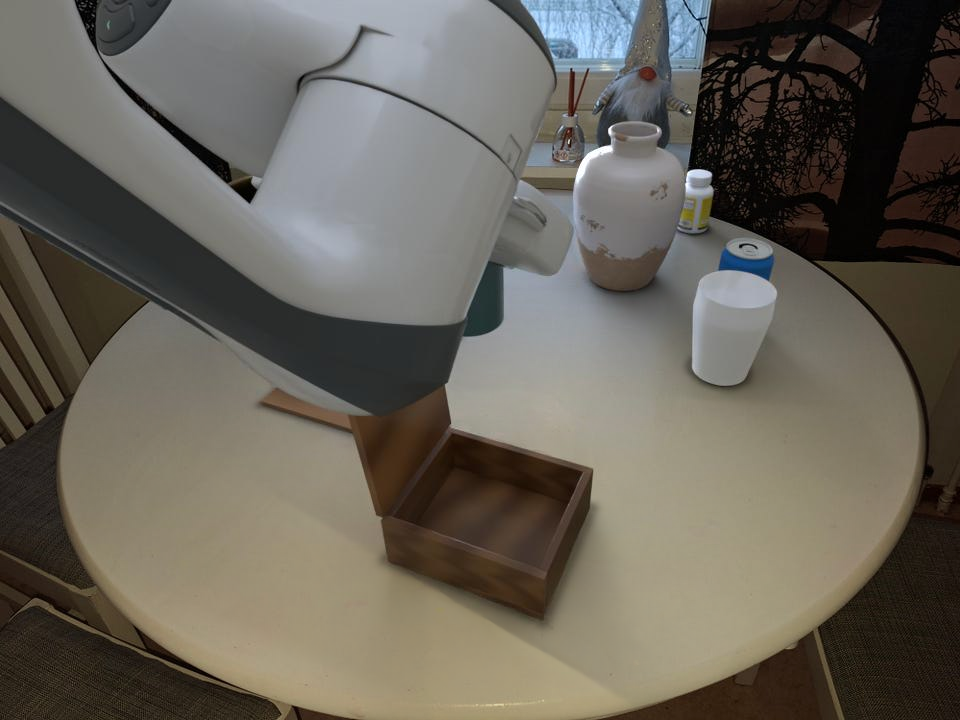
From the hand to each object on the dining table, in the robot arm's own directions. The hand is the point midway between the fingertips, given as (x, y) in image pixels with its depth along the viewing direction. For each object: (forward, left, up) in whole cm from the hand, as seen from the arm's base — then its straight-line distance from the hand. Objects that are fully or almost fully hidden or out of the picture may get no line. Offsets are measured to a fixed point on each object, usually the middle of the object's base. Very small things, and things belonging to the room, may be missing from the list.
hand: (470, 247), depth 52 cm
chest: (-3, -2, -29) cm, 30 cm away
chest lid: (-3, +6, -15) cm, 16 cm away
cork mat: (+15, +24, -29) cm, 41 cm away
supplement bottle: (+72, -7, -30) cm, 78 cm away
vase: (+51, 0, -30) cm, 59 cm away
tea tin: (-1, 0, -6) cm, 6 cm away
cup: (+32, -18, -30) cm, 47 cm away
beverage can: (+43, -18, -30) cm, 55 cm away
